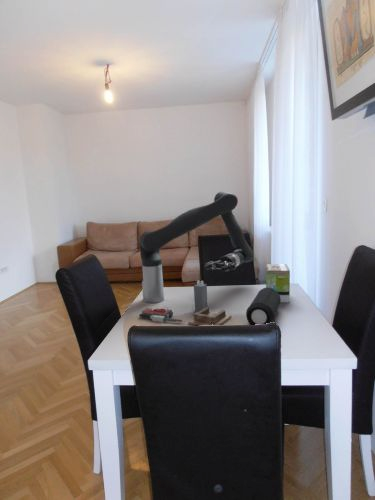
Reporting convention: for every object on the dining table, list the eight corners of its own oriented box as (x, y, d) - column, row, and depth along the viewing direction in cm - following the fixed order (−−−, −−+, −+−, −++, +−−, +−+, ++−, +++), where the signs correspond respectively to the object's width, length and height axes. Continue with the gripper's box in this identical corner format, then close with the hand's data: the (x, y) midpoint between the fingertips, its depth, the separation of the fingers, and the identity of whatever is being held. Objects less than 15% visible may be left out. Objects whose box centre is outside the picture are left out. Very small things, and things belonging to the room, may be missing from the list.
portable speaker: (257, 308, 151) (257, 285, 150) (281, 309, 148) (281, 286, 146) (245, 330, 128) (244, 303, 127) (272, 333, 124) (272, 305, 123)
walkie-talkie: (136, 320, 144) (181, 325, 137) (135, 310, 144) (180, 314, 136) (146, 313, 152) (189, 317, 145) (145, 303, 152) (189, 307, 144)
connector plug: (194, 310, 152) (193, 281, 150) (199, 307, 155) (198, 279, 153) (203, 311, 150) (201, 282, 148) (207, 309, 153) (206, 280, 151)
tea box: (290, 302, 156) (290, 270, 153) (267, 302, 158) (266, 270, 155) (287, 293, 170) (286, 263, 168) (265, 293, 172) (265, 263, 170)
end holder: (188, 324, 137) (188, 315, 136) (205, 313, 147) (204, 305, 147) (215, 329, 130) (215, 320, 129) (231, 317, 141) (231, 309, 140)
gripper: (216, 253, 176) (199, 260, 163) (242, 254, 168) (227, 261, 155) (217, 268, 177) (200, 276, 164) (243, 270, 170) (228, 278, 156)
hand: (213, 269), depth 160 cm, fingers open, 8 cm apart
